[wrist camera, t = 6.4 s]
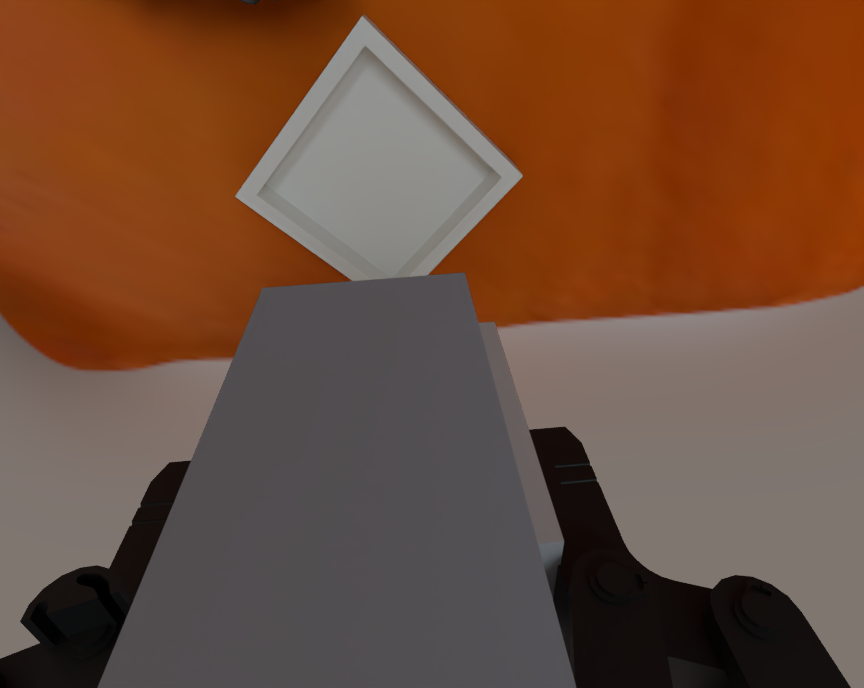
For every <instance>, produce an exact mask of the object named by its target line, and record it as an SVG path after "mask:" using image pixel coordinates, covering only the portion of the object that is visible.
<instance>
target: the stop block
mask: <svg viewBox="0 0 864 688" xmlns="http://www.w3.org/2000/svg"><path fill="white" fill-rule="evenodd" d="M98 688H576V684H575V681H574V677H573V673H572V669H571V666H570V662H569V658H568V654H567V651H566V647H565V643H564V640H563V636H562V632H561V628H560V625H559V621H558V617H557V614H556V610H555V606H554V602H553V599H552V595H551V591H550V587H549V584H548V580H547V576H546V573H545V569H544V565H543V561H542V558H541V554H540V550H539V547H538V543H537V539H536V535H535V532H534V528H533V524H532V521H531V517H530V513H529V509H528V506H527V502H526V498H525V494H524V491H523V487H522V483H521V480H520V476H519V472H518V468H517V465H516V461H515V457H514V454H513V450H512V446H511V442H510V439H509V435H508V431H507V427H506V424H505V420H504V416H503V413H502V409H501V405H500V401H499V398H498V394H497V390H496V387H495V383H494V379H493V375H492V372H491V368H490V364H489V361H488V357H487V353H486V349H485V346H484V342H483V338H482V334H481V331H480V327H479V323H478V320H477V316H476V312H475V308H474V305H473V301H472V297H471V294H470V290H469V286H468V282H467V279H466V275H465V273H453V274H439V275H426V276H413V277H400V278H387V279H374V280H361V281H348V282H335V283H322V284H308V285H295V286H282V287H269V288H262V290H261V293H260V295H259V298H258V300H257V302H256V305H255V307H254V310H253V312H252V315H251V317H250V319H249V322H248V324H247V327H246V329H245V332H244V334H243V336H242V339H241V341H240V344H239V346H238V348H237V351H236V353H235V356H234V358H233V361H232V363H231V366H230V368H229V370H228V373H227V375H226V378H225V380H224V383H223V385H222V387H221V390H220V393H219V394H218V397H217V399H216V402H215V404H214V407H213V409H212V411H211V414H210V416H209V419H208V421H207V424H206V426H205V428H204V431H203V433H202V436H201V438H200V441H199V443H198V445H197V448H196V450H195V453H194V455H193V458H192V460H191V462H190V465H189V467H188V470H187V472H186V474H185V477H184V479H183V482H182V484H181V487H180V489H179V491H178V494H177V496H176V499H175V501H174V504H173V506H172V508H171V511H170V513H169V516H168V518H167V520H166V523H165V525H164V528H163V530H162V533H161V535H160V537H159V540H158V542H157V545H156V547H155V550H154V552H153V554H152V557H151V559H150V562H149V564H148V567H147V569H146V571H145V574H144V576H143V579H142V581H141V583H140V586H139V588H138V591H137V593H136V596H135V598H134V600H133V603H132V605H131V608H130V610H129V613H128V615H127V617H126V620H125V622H124V625H123V627H122V629H121V632H120V634H119V637H118V639H117V642H116V644H115V646H114V649H113V651H112V654H111V656H110V659H109V661H108V663H107V666H106V668H105V671H104V673H103V676H102V678H101V680H100V683H99V685H98Z"/></svg>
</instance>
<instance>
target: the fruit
mask: <svg viewBox="0 0 864 688" xmlns="http://www.w3.org/2000/svg"><path fill="white" fill-rule="evenodd" d="M240 1H242V2H244V3H246V4H256V3H258V2H259V1H260V0H240ZM276 1H278V0H276Z"/></svg>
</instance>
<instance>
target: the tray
mask: <svg viewBox="0 0 864 688" xmlns="http://www.w3.org/2000/svg"><path fill="white" fill-rule="evenodd" d="M522 177H523V175H522V174H521V172H520V171H519V169H518V168H517V167H516V165H515V164H514V163H513V162H512V161H511V160H510V159H509V158H508V157H507V156H506V155H505V154H504V153H503V152H502V151H501V150H500V149H499V148H498V147H497V146H496V145H495V144H494V143H493V142H492V141H491V140H490V139H489V138H488V137H487V136H486V135H485V134H484V133H483V132H482V131H481V130H480V129H479V128H478V127H477V126H476V125H475V124H474V123H473V122H472V121H471V120H470V119H469V118H468V117H467V116H466V115H465V114H464V113H463V112H462V111H461V110H460V109H459V108H458V107H457V106H456V105H455V104H454V103H453V102H452V101H451V100H450V99H449V98H448V97H447V96H446V95H445V94H444V93H443V92H442V91H441V90H440V89H439V88H438V87H437V86H436V85H435V84H434V83H433V82H432V81H431V80H430V79H429V78H428V77H427V76H426V75H425V74H424V73H423V72H422V71H421V70H420V69H419V68H418V67H417V66H416V65H415V64H414V63H413V62H412V61H411V60H410V59H409V58H408V57H407V56H406V55H405V54H404V53H403V52H402V51H401V50H400V49H399V48H398V47H397V46H396V45H395V44H394V43H393V42H392V41H391V40H390V39H389V38H388V37H387V36H386V35H385V34H384V33H383V32H382V31H381V30H380V29H379V28H378V27H377V26H376V25H375V24H374V23H373V22H372V21H371V20H370V19H369V18H368V17H367V16H366V15H365V14H363V15H362V17H361V18H360V20H359V21H358V22H357V24H356V25H355V27H354V28H353V29H352V31H351V32H350V34H349V35H348V37H347V38H346V39H345V41H344V42H343V44H342V45H341V47H340V48H339V49H338V51H337V52H336V54H335V55H334V56H333V58H332V59H331V61H330V62H329V64H328V65H327V66H326V68H325V69H324V71H323V72H322V74H321V75H320V76H319V78H318V79H317V81H316V82H315V83H314V85H313V86H312V88H311V89H310V91H309V92H308V93H307V95H306V96H305V98H304V99H303V101H302V102H301V103H300V105H299V106H298V108H297V109H296V110H295V112H294V113H293V115H292V116H291V118H290V119H289V120H288V122H287V123H286V125H285V126H284V127H283V129H282V130H281V132H280V133H279V135H278V136H277V137H276V139H275V140H274V142H273V143H272V145H271V146H270V147H269V149H268V150H267V152H266V153H265V154H264V156H263V157H262V159H261V160H260V162H259V163H258V164H257V166H256V167H255V169H254V170H253V172H252V173H251V174H250V176H249V177H248V179H247V180H246V181H245V183H244V184H243V186H242V187H241V189H240V190H239V191H238V193H237V194H236V196H235V197H236V198H237V199H239V200H240V201H242V202H243V203H244V204H246V205H247V206H249V207H250V208H251V209H253V210H254V211H256V212H257V213H258V214H260V215H261V216H263V217H264V218H265V219H267V220H268V221H270V222H271V223H272V224H274V225H275V226H277V227H278V228H279V229H281V230H282V231H284V232H285V233H286V234H288V235H289V236H291V237H292V238H293V239H295V240H296V241H298V242H299V243H300V244H302V245H303V246H304V247H306V248H307V249H309V250H310V251H311V252H313V253H314V254H316V255H317V256H318V257H320V258H321V259H323V260H324V261H325V262H327V263H328V264H330V265H331V266H332V267H334V268H335V269H337V270H338V271H339V272H341V273H342V274H344V275H345V276H346V277H348V278H349V279H351V280H352V281H361V280H374V279H387V278H400V277H413V276H426V275H428V274H429V273H430V272H431V271H432V270H433V269H434V268H435V267H436V266H437V265H438V264H439V263H440V262H441V261H442V259H443V258H444V257H445V256H446V255H447V254H448V253H449V252H450V251H451V250H452V249H453V248H454V247H455V246H456V245H457V244H458V243H459V242H460V241H461V240H462V239H463V238H464V237H465V236H466V235H467V234H468V233H469V232H470V231H471V230H472V229H473V227H474V226H475V225H476V224H477V223H478V222H479V221H480V220H481V219H482V218H483V217H484V216H485V215H486V214H487V213H488V212H489V211H490V210H491V209H492V208H493V207H494V206H495V205H496V204H497V203H498V202H499V201H500V200H501V199H502V198H503V196H504V195H505V194H506V193H507V192H508V191H509V190H510V189H511V188H512V187H513V186H514V185H515V184H516V183H517V182H518V181H519V180H520V179H521V178H522Z"/></svg>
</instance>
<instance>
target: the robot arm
mask: <svg viewBox="0 0 864 688" xmlns="http://www.w3.org/2000/svg"><path fill="white" fill-rule="evenodd" d="M479 327H480V331H481V334H482V338H483V342H484V346H485V349H486V353H487V357H488V361H489V364H490V368H491V372H492V375H493V379H494V383H495V387H496V390H497V394H498V398H499V401H500V405H501V409H502V413H503V416H504V420H505V424H506V427H507V431H508V435H509V439H510V442H511V446H512V450H513V454H514V457H515V461H516V465H517V468H518V472H519V476H520V480H521V483H522V487H523V491H524V494H525V498H526V502H527V506H528V509H529V513H530V517H531V521H532V524H533V528H534V532H535V535H536V539H537V543H538V547H539V550H540V554H541V558H542V561H543V565H544V569H545V573H546V576H547V580H548V584H549V587H550V591H551V595H552V599H553V602H554V606H555V610H556V614H557V617H558V621H559V625H560V628H561V632H562V636H563V640H564V643H565V647H566V651H567V654H568V658H569V662H570V666H571V669H572V673H573V677H574V681H575V684H576V688H851V687H850V686H849V684H848V683H847V681H846V680H845V678H844V677H843V675H842V674H841V672H840V671H839V669H838V667H837V666H836V664H835V663H834V661H833V660H832V658H831V657H830V655H829V653H828V652H827V651H826V649H825V647H824V646H823V644H822V643H821V641H820V640H819V638H818V637H817V635H816V633H815V632H814V630H813V629H812V627H811V626H810V624H809V623H808V621H807V620H806V618H805V617H804V615H803V614H802V612H801V611H800V610H799V609H798V607H797V606H796V605H795V604H794V603H793V602H792V600H791V599H790V598H789V597H788V596H787V595H785V594H784V593H782V592H781V591H780V590H778V589H777V588H775V587H774V586H773V585H771V584H769V583H766V582H764V581H762V580H759V579H757V578H754V577H749V576H738V575H734V576H731V577H728V578H725V579H721V581H720V582H719V583H718V584H717V585H716V586H715V587H714V588H713V589H710V588H706V587H701V586H696V585H692V584H687V583H682V582H678V581H674V580H670V579H667V578H664V577H661V576H659V575H657V574H655V573H654V572H652V571H650V570H648V569H647V568H646V567H644V566H643V565H642V564H641V563H640V562H639V561H637V560H636V559H635V558H634V557H633V555H632V554H631V553H630V552H629V551H628V549H627V547H626V545H625V543H624V541H623V539H622V537H621V534H620V532H619V530H618V527H617V525H616V523H615V520H614V518H613V516H612V513H611V511H610V509H609V506H608V504H607V502H606V499H605V497H604V494H603V492H602V490H601V487H600V485H599V483H598V482H597V478H596V476H595V473H594V471H593V469H592V466H590V462H589V459H588V457H587V454H586V452H585V450H584V447H583V445H582V443H581V442H580V441H579V440H578V439H577V438H576V437H575V436H574V435H573V434H572V433H571V432H570V431H569V430H568V429H567V428H566V427H556V428H544V429H533V430H529V429H528V426H527V423H526V420H525V417H524V413H523V410H522V407H521V404H520V401H519V397H518V394H517V391H516V388H515V385H514V382H513V379H512V376H511V372H510V369H509V366H508V363H507V360H506V357H505V353H504V350H503V347H502V344H501V341H500V338H499V335H498V331H497V328H496V325H495V322H484V323H479ZM190 462H191V461H181V462H171V463H169V464H168V465H167V466H166V467H165V468H164V469H163V470H162V471H161V472H160V473H159V474H158V475H157V476H156V477H155V478H154V479H153V480H152V481H151V483H150V485H149V487H148V489H147V491H146V493H145V495H144V497H143V500H142V501H141V507H140V508H138V510H137V512H136V514H135V516H134V518H133V520H132V526H130V527H129V529H128V531H127V533H126V535H125V537H124V539H123V541H122V543H121V545H120V547H119V550H118V551H117V553H116V556H115V558H114V560H113V562H112V564H111V566H110V568H109V569H108V568H105V567H101V566H90V567H83V568H79V569H76V570H75V571H72V572H69V573H67V574H65V575H62V576H61V577H59V578H58V579H56V580H55V581H54V582H52V583H51V584H49V585H48V586H47V587H45V588H44V589H43V590H42V591H41V592H40V593H39V594H38V595H37V597H36V598H35V599H34V600H33V601H32V602H31V603H30V604H29V606H28V608H27V610H26V611H25V613H24V615H23V617H22V619H21V621H20V622H21V623H22V624H23V625H24V626H25V627H26V628H27V629H28V630H29V631H30V632H31V633H32V634H33V635H34V637H35V638H36V639H37V640H38V641H39V642H40V644H37V645H35V646H32V647H29V648H27V649H24V650H22V651H19V652H17V653H14V654H11V655H9V656H6V657H4V658H1V659H0V688H98V685H99V683H100V680H101V678H102V676H103V673H104V671H105V668H106V666H107V663H108V661H109V659H110V656H111V654H112V651H113V649H114V646H115V644H116V642H117V639H118V637H119V634H120V632H121V629H122V627H123V625H124V622H125V620H126V617H127V615H128V613H129V610H130V608H131V605H132V603H133V600H134V598H135V596H136V593H137V591H138V588H139V586H140V583H141V581H142V579H143V576H144V574H145V571H146V569H147V567H148V564H149V562H150V559H151V557H152V554H153V552H154V550H155V547H156V545H157V542H158V540H159V537H160V535H161V533H162V530H163V528H164V525H165V523H166V520H167V518H168V516H169V513H170V511H171V508H172V506H173V504H174V501H175V499H176V496H177V494H178V491H179V489H180V487H181V484H182V482H183V479H184V477H185V474H186V472H187V470H188V467H189V465H190Z"/></svg>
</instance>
